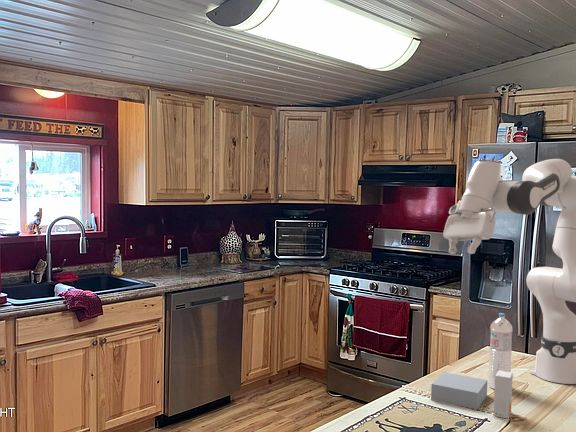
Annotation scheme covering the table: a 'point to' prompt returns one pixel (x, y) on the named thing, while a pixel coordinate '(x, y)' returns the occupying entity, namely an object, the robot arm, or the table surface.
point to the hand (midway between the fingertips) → (460, 253)
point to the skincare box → (503, 394)
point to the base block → (459, 390)
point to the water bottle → (500, 348)
